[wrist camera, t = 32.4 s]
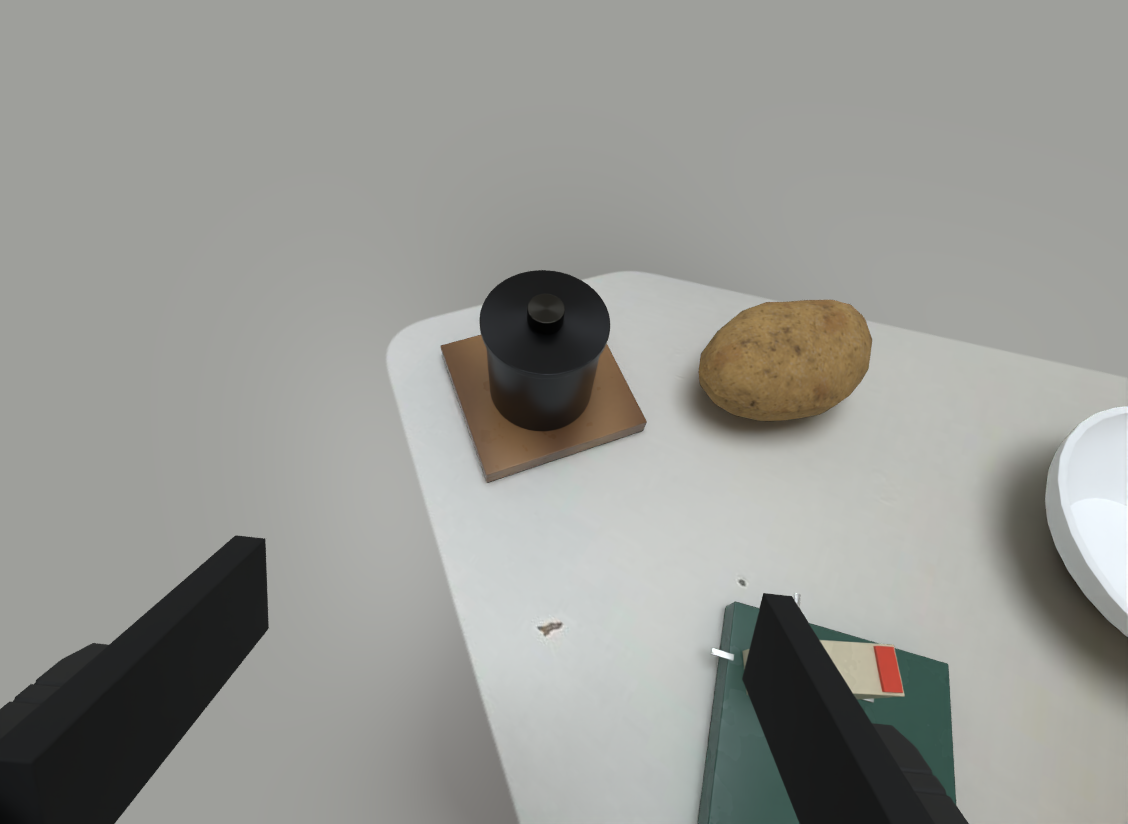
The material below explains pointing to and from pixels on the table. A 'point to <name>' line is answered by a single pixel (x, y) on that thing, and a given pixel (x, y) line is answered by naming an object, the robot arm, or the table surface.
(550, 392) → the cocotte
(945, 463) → the table surface
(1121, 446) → the bowl
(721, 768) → the green rectangular slab
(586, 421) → the board
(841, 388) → the potato
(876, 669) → the cream juice carton
